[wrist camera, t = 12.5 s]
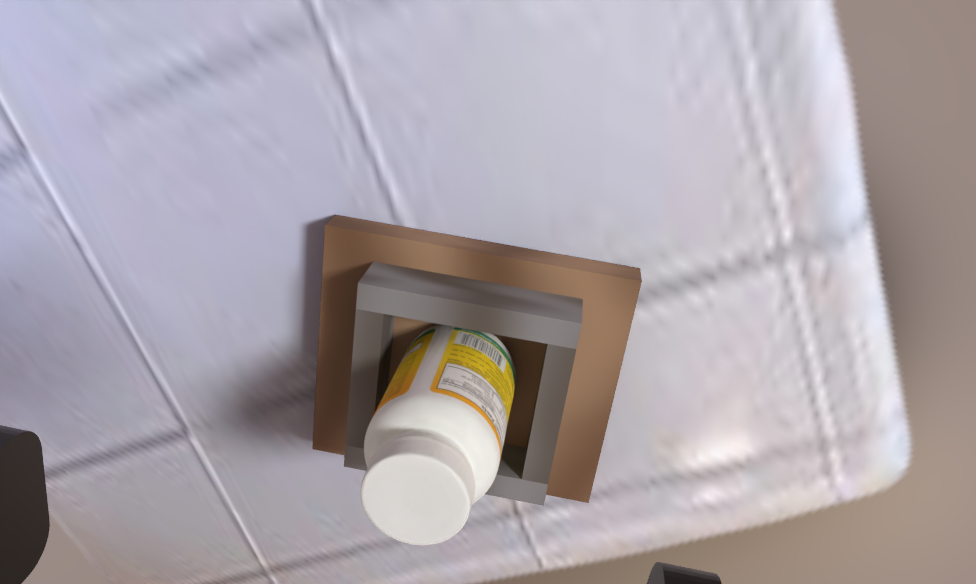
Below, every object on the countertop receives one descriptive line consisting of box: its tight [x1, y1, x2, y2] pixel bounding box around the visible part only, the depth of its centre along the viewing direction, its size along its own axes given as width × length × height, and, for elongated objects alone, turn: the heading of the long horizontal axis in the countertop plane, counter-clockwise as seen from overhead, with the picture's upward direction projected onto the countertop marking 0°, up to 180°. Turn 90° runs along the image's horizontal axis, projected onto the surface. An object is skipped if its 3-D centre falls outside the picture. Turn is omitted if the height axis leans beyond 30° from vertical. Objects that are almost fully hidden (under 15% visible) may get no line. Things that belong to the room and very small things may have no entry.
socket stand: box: [313, 215, 642, 506], centre depth 36 cm, size 14×12×4 cm
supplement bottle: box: [361, 324, 516, 545], centre depth 32 cm, size 5×5×10 cm
